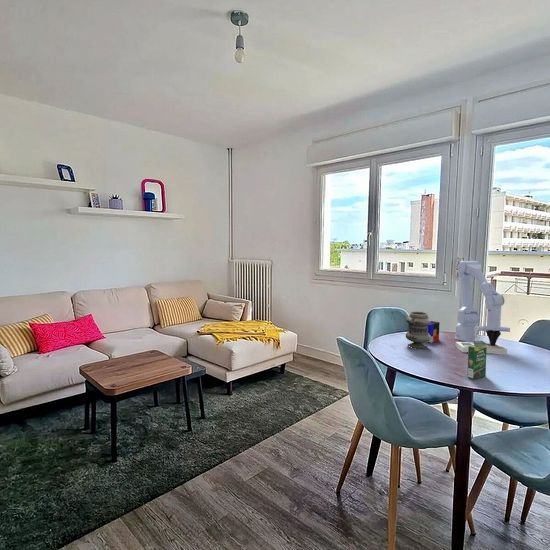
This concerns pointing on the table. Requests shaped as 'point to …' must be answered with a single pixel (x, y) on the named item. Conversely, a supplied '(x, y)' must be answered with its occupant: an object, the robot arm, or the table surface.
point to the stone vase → (418, 329)
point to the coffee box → (477, 361)
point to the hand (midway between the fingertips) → (492, 345)
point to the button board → (489, 348)
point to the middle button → (479, 342)
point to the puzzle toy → (433, 331)
